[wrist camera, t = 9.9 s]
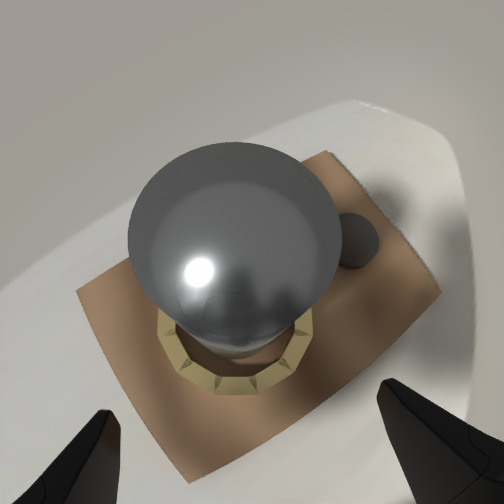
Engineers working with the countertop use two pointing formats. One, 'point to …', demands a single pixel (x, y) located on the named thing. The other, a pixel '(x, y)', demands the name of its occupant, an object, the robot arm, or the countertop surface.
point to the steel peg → (234, 244)
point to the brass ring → (235, 384)
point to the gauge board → (310, 366)
